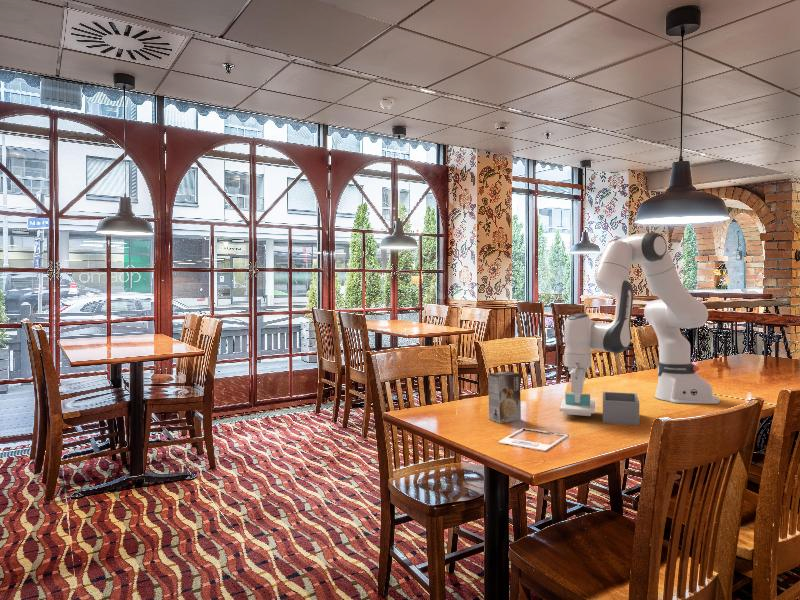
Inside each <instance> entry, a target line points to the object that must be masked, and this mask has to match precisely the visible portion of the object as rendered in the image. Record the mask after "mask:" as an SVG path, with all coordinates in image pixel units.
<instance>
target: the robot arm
mask: <svg viewBox="0 0 800 600" xmlns="http://www.w3.org/2000/svg"><path fill="white" fill-rule="evenodd" d="M667 244H668V243H667V240H666V238H664V236H663V235H661V234H660V233H658V232H649V231H648V232H647V233H645V232H644V233H633V234H630V235H625V236H622V237H618V238H614V239H613V240H611V241H610V242H608V243H607V244H606V246H605V247H604V249H603V252H601V253H602V254H601V256H600V258H599V261H598V263H597V267H596V270H595V273H594V281H595V284H596V286H598V287H599V289H600V290H601V291H603V292H605V293H606V294H608V295H610V296H612V297H614V298H615V301H616V303H615V310H614V319H613V320H612V322H610V323H608V322H607V323H606V322H596V321H594V320H592V319H591V318H590V316H589V314H587V313H582V312H581V313H573V314H570V315H568V316H567V317H566V319H565V323H564V329H563V330H564V333H563V335H564V337H563V338H564V345H565V348H564V350H563V351H564V353H563V355H564V360H563V361H564V363H563V364H564V367H566V368H568V369H567V370H568V372H570V393H574V395H575V402H576V403H580V396H581V394H583V389H584V384H585V381H586V374H587V372H588V368H591V367H592V350H595V351H600V352H601V351H602V352H608V353H613V354H622V353H623V352H624V351H626V350H627V349H628V347H629V346H630V344H631V340H632V339H631V338H632V336H631V335H632V334H631V323H632V321H631V320H632V312H633V311H632V310H633V302H634V287H633V284H632V283H631V282H629V274H630V271H631V266H632V265H639V264H640V265H641V269H642V271H643V274H644V277H645V280H646V283H647V285H648V288H649V291H650V293H652V294H653V295H654V296H656V297H657V298H659V299H654V300H650V301H648V302H647V303H646V305H645V306H644V310H643V316H644V318H645V321H646V322H648V324H650V326H651V327H652V328H653V330H654V333H655V335H656V338H657V343H658V362H657V376H658V379H657V386H656V390H655V393H654V397H655V398H656V399H659V400H662V401H665V402H666V401H667V402H671V403H674V404H675V403H676V404H708V405H709V404H710V405H711V404H714V405H717V404H720V402H721V400H720V398H719V397H718V396H717V395H714V392H713V388H712V385H711V384H710V382H708V381H707V380H706V379H704V378H703V377H702V376H701V375H699V374H698V373H697V372H698V371H699V370H700V368H699V366H698V365H695V364H694V363H691V343H690V341H689V340H688V339H686V338H685V337H684V336H683V334H682V332H681V330H680V329H695V328H701V327H703V326H704V325H706V323H707V321H708V317H709V310H708V308H707V307H706V305H705V304H704V303H702V302H701V301H699V300H697V298H696V297H694V296H693V295H692V294H691V293H690V292H689V291H688V290H687V289H686V287H685V286H684V285H683V282H682V281H681V278H680V276H679V275H678V272H677V271H678V270H677V269H676V268H677V267H676V265H675V263H674V260H673V258H672V256H671V254H670V252H669V249H668V248H667V247H668V246H667Z"/></svg>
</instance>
